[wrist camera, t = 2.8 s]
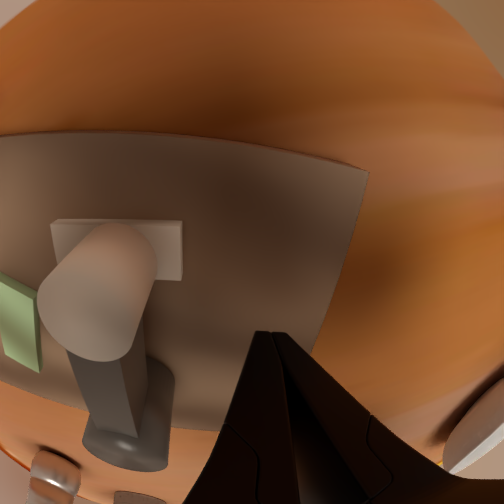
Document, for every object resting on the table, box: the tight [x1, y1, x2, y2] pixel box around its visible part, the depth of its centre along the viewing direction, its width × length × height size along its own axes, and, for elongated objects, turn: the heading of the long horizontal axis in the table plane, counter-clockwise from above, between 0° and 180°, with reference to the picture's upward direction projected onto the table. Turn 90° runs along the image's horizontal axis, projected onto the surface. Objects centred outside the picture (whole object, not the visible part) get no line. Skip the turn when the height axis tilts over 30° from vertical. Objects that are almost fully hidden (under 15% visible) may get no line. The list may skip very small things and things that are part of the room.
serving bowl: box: [443, 378, 504, 474], centre depth 23 cm, size 21×21×7 cm
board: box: [0, 130, 369, 431], centre depth 12 cm, size 16×20×3 cm
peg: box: [37, 223, 175, 472], centre depth 9 cm, size 10×4×4 cm, turn 170°
